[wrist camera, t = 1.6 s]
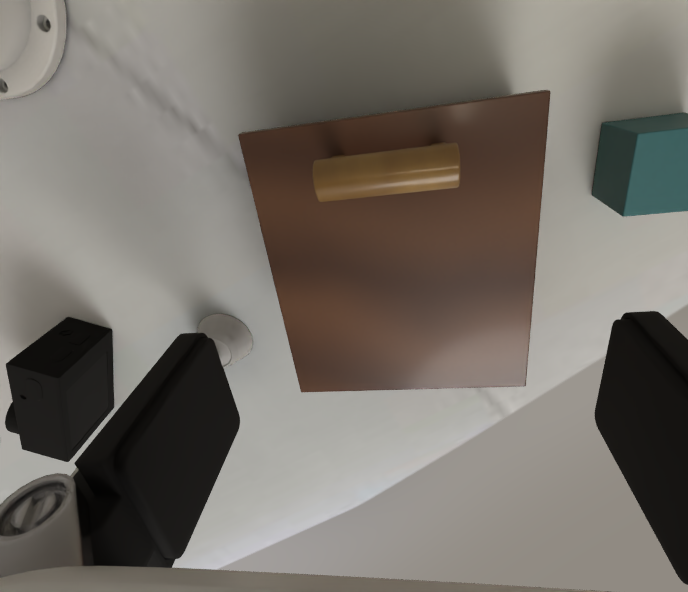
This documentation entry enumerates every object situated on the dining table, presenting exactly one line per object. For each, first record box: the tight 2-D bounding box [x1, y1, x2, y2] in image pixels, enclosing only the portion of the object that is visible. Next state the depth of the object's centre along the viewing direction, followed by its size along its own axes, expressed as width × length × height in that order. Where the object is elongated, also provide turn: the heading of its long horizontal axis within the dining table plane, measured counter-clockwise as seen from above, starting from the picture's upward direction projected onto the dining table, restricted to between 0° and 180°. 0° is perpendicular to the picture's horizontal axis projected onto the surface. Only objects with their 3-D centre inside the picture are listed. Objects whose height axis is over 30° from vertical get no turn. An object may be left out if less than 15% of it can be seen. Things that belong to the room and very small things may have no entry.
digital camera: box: [5, 317, 114, 462], centre depth 37 cm, size 10×5×7 cm, turn 165°
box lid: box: [238, 90, 550, 392], centre depth 22 cm, size 17×15×5 cm
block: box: [592, 113, 688, 216], centre depth 24 cm, size 4×4×4 cm
